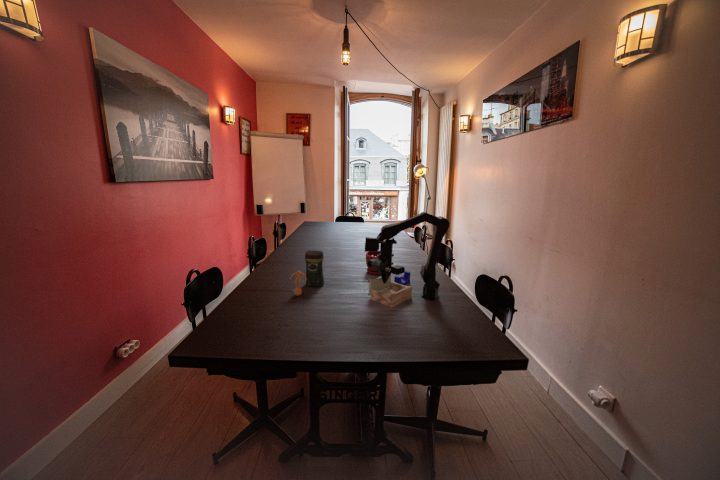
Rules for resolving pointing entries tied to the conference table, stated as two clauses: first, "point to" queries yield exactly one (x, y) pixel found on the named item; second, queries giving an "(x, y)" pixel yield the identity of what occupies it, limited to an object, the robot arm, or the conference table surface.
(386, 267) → the robot arm
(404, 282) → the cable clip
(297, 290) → the figurine
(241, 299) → the conference table surface
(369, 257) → the plant pot
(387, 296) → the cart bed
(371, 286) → the tailgate
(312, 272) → the coffee jar
